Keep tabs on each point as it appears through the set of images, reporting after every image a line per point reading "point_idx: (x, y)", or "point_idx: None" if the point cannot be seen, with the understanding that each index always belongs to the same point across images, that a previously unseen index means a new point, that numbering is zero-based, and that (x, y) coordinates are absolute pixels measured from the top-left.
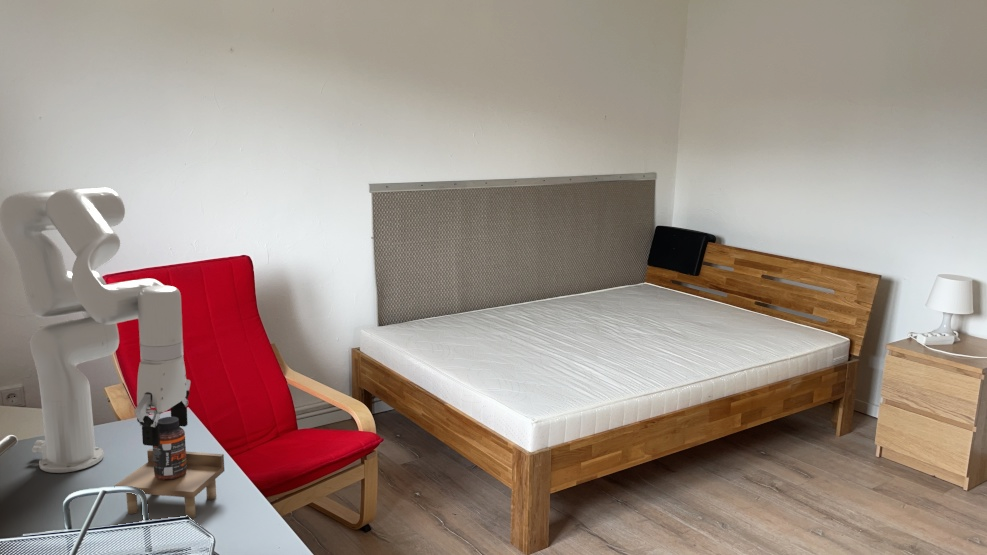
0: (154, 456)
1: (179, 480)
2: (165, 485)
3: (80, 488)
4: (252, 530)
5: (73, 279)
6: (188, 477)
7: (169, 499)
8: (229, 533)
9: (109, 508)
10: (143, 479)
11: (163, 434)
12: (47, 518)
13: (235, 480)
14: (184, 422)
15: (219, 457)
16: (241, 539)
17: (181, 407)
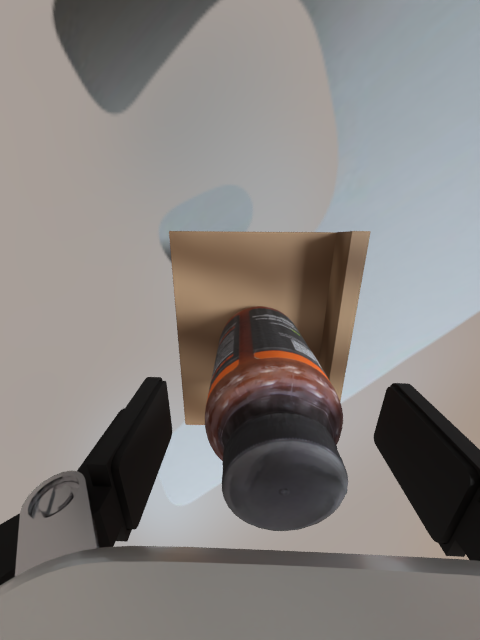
0: (221, 348)
1: None
2: (200, 358)
3: (310, 15)
4: (196, 461)
5: None
6: None
7: None
8: (181, 439)
9: (216, 193)
10: (221, 288)
11: (219, 443)
12: (139, 57)
13: (361, 378)
14: (383, 455)
15: None
16: (170, 457)
17: (456, 538)
